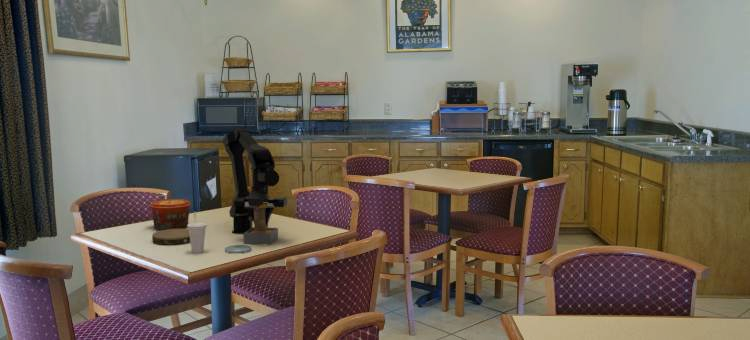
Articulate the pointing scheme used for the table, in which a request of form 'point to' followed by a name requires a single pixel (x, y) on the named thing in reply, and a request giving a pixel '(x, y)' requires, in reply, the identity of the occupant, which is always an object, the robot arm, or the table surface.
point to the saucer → (238, 249)
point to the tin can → (171, 237)
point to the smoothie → (197, 235)
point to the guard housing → (260, 237)
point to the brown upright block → (260, 219)
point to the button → (262, 231)
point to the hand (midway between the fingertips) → (261, 224)
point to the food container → (170, 214)
